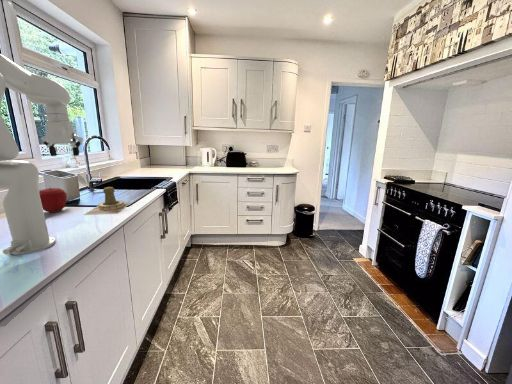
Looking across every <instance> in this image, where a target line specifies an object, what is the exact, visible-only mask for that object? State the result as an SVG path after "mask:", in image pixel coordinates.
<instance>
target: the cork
mask: <svg viewBox="0 0 512 384" xmlns="http://www.w3.org/2000/svg"><path fill="white" fill-rule="evenodd" d="M102 192H103V193H104V202H105V205H114V204H117V202H116V200H117V199H116V197H115V196H116V195H115V188H114V187H113V186H107V187H106V186H105V187H104V188H103V191H102Z"/></svg>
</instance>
